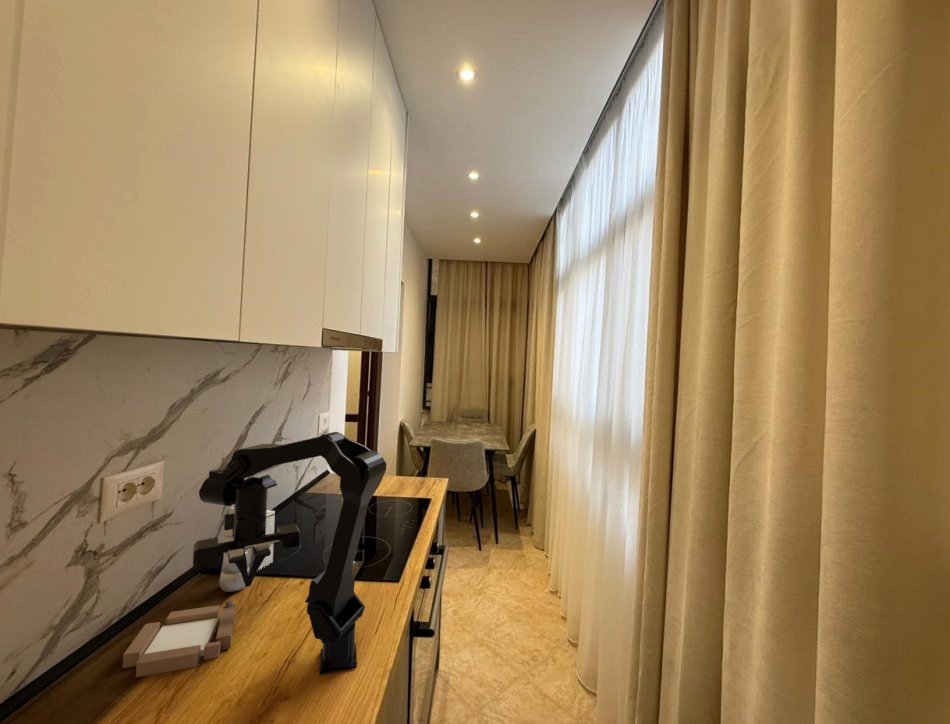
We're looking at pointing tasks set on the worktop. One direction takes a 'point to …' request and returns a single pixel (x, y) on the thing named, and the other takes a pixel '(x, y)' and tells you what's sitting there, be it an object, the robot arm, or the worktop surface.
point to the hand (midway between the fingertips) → (247, 585)
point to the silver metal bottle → (231, 565)
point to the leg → (226, 625)
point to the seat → (175, 642)
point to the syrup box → (269, 530)
